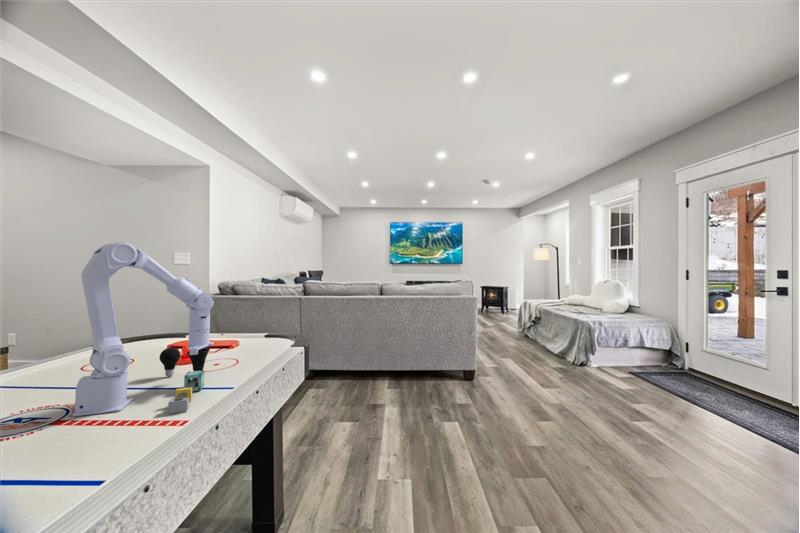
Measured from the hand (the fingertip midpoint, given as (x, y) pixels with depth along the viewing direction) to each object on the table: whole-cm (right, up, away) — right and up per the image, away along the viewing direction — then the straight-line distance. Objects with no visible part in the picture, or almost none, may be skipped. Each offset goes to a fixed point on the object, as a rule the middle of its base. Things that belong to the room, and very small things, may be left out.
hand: (198, 372), depth 101 cm
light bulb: (-15, -4, +7) cm, 17 cm away
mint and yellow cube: (+2, -4, -5) cm, 6 cm away
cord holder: (+4, -4, -11) cm, 13 cm away
